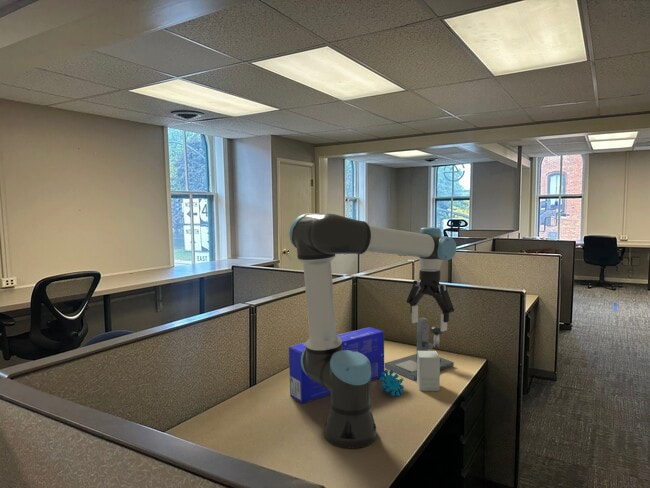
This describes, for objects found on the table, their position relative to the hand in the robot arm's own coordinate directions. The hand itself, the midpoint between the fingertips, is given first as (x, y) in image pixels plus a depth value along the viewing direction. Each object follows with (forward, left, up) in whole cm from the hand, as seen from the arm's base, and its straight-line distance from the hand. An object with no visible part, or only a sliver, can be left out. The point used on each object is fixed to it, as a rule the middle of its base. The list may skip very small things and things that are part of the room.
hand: (428, 326), depth 158 cm
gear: (-16, +2, -22) cm, 28 cm away
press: (+10, +13, -22) cm, 28 cm away
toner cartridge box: (-28, +18, -22) cm, 40 cm away
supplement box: (-2, -2, -22) cm, 23 cm away
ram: (+18, +12, -14) cm, 26 cm away
